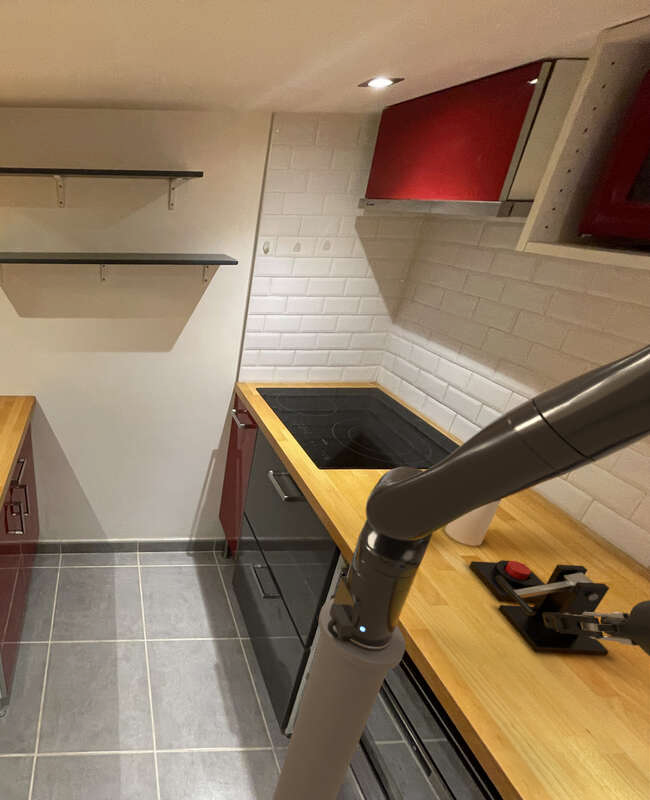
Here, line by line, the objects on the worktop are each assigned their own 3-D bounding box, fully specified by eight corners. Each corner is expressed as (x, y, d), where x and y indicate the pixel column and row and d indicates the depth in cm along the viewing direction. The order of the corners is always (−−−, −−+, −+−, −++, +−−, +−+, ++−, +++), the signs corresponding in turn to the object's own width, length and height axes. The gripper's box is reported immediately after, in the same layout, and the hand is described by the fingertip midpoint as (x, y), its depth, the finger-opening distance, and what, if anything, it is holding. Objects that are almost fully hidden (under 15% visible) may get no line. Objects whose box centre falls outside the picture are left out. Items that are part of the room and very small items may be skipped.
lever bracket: (534, 651, 79) (568, 595, 73) (498, 609, 87) (526, 555, 81) (605, 656, 78) (645, 599, 72) (562, 612, 86) (594, 558, 80)
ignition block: (498, 601, 88) (505, 588, 87) (468, 567, 97) (474, 554, 95) (556, 604, 88) (563, 591, 87) (521, 569, 96) (527, 557, 95)
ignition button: (513, 580, 89) (516, 573, 89) (500, 566, 93) (503, 560, 92) (532, 581, 89) (535, 574, 89) (518, 567, 93) (521, 561, 92)
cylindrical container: (438, 528, 108) (473, 438, 98) (459, 522, 110) (496, 434, 100) (467, 548, 102) (508, 454, 91) (489, 541, 104) (532, 449, 94)
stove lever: (528, 619, 76) (528, 609, 75) (494, 582, 83) (494, 573, 83) (608, 605, 74) (609, 595, 73) (566, 569, 81) (567, 559, 80)
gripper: (751, 606, 54) (615, 597, 69) (627, 599, 55) (520, 592, 70) (780, 677, 51) (632, 652, 67) (650, 669, 52) (533, 646, 67)
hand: (575, 621), depth 68 cm, fingers open, 8 cm apart
